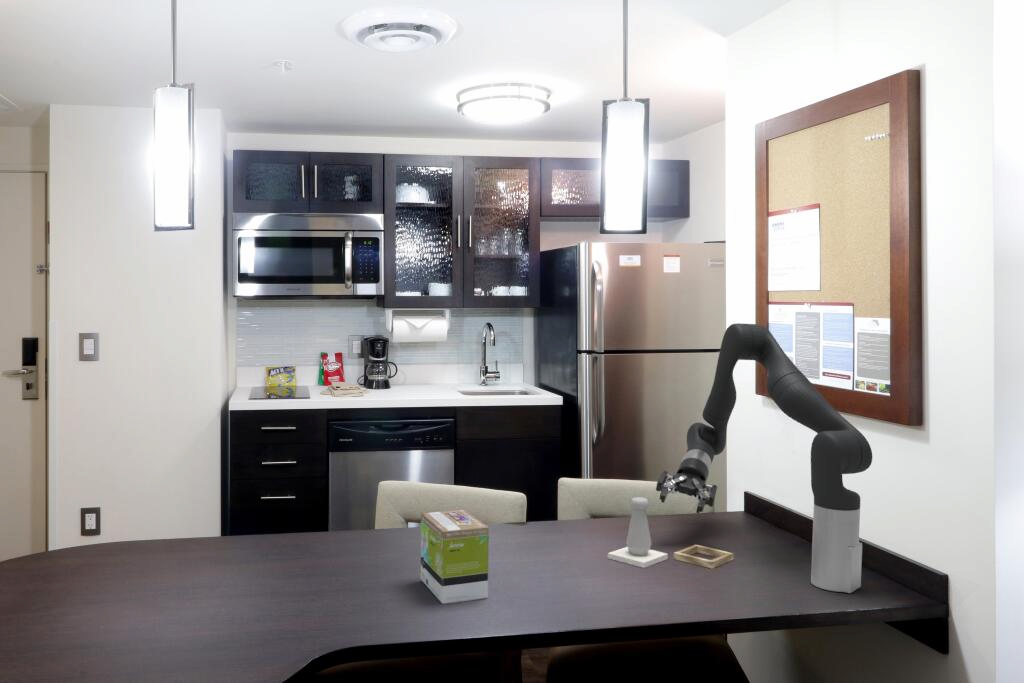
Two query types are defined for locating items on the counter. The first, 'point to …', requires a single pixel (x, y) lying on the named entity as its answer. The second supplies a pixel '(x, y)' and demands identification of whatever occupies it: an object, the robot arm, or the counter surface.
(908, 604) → the counter surface
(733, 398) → the robot arm
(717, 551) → the frame
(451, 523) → the tea box
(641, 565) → the coaster
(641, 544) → the salt shaker
